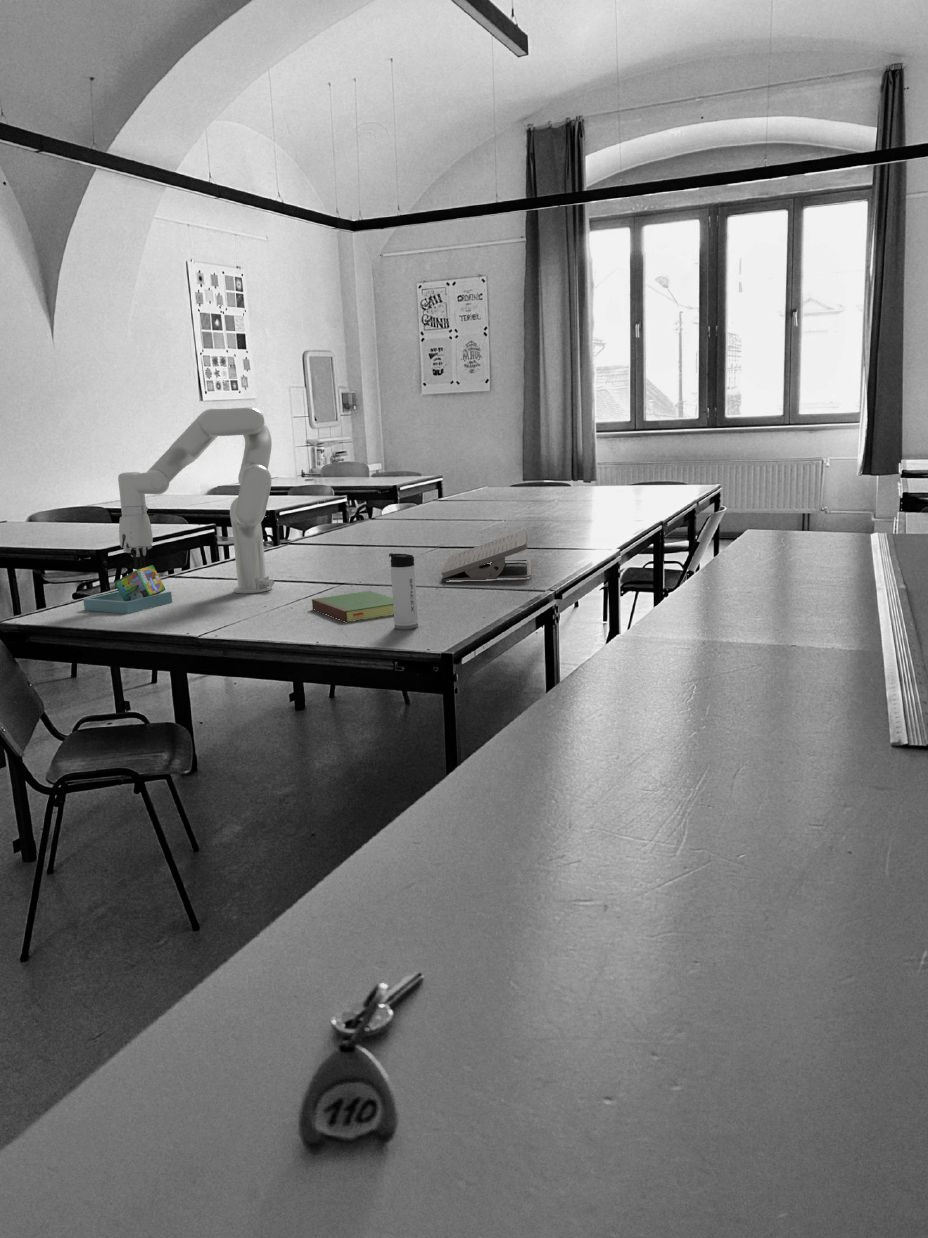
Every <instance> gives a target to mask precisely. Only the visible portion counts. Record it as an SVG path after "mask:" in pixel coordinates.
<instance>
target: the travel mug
mask: <svg viewBox="0 0 928 1238" xmlns="http://www.w3.org/2000/svg"><path fill="white" fill-rule="evenodd" d="M388 557H389V558H390V568H391V569H390V575H391V576H390V577H391V589H392V598H393V609H394V615H393V621H394V625H393V626H394V629H396V630H399V631H402V630H403V631H406V630H413V628H414V629H417V628H418V627H419V620H418V619H419V617H418V603H417V602H418V601H417V599H418V598H417V584H416V569H415V556H414V555H412V554H410V553H409V554H407V553H393V552H392V553H391V552H390V553H389V554H388Z"/></svg>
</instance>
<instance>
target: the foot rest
mask: <svg viewBox="0 0 928 1238" xmlns="http://www.w3.org/2000/svg"><path fill="white" fill-rule="evenodd" d="M528 543H529V541H528V533H527V530H520V531H517V532H514V533H511V534H509V535H506V536H503V537H501V538H497V539H494V540H492V541H489V542H487V543H483V544H481V545H478V546H475V547H472V548H468V549H465V550H464V551H461V552H458V553H455V554H452V555H450V556H449V557H448V558H447V560H446V562H445V564H444V565H443V567H442V570H441V572H440V574H441V576H442V578H443V579H444V581H449V580H486V579H497V578H527V577H530V576H531V577H532V560H531V559H527V558H526V559H525V558H519V559H506V557H509V556H512V555H515V554H518V553H521V552H523V551H525V550H527V549H529V547H528V545H529V544H528ZM505 561H527V564H526V574H521V575H520V574H519V575H500V574H501V573H502V571H503V570H504V568H505V565H506V564H505ZM490 562H492V563H491V565H488V566H485V565H484V564H487V563H490ZM481 566H485V567H481ZM495 567H497V569H496V568H495ZM463 572H465V574H466V575H467V576H468V577H452V576H455V575H458V574H461V573H463Z"/></svg>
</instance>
